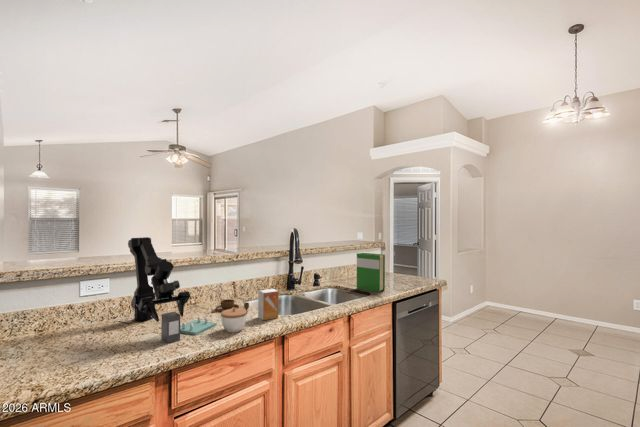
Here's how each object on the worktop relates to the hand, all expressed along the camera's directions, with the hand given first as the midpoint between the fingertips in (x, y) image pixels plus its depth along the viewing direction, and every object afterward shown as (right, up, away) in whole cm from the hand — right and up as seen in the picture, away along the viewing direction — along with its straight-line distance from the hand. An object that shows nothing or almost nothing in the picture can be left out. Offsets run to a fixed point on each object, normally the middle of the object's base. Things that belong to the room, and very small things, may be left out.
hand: (170, 318), depth 128 cm
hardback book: (+93, -10, +92) cm, 131 cm away
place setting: (+12, -10, +39) cm, 42 cm away
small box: (+34, -9, +29) cm, 46 cm away
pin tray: (+5, -8, +13) cm, 16 cm away
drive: (0, -8, 0) cm, 8 cm away
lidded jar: (+22, -9, +11) cm, 26 cm away
